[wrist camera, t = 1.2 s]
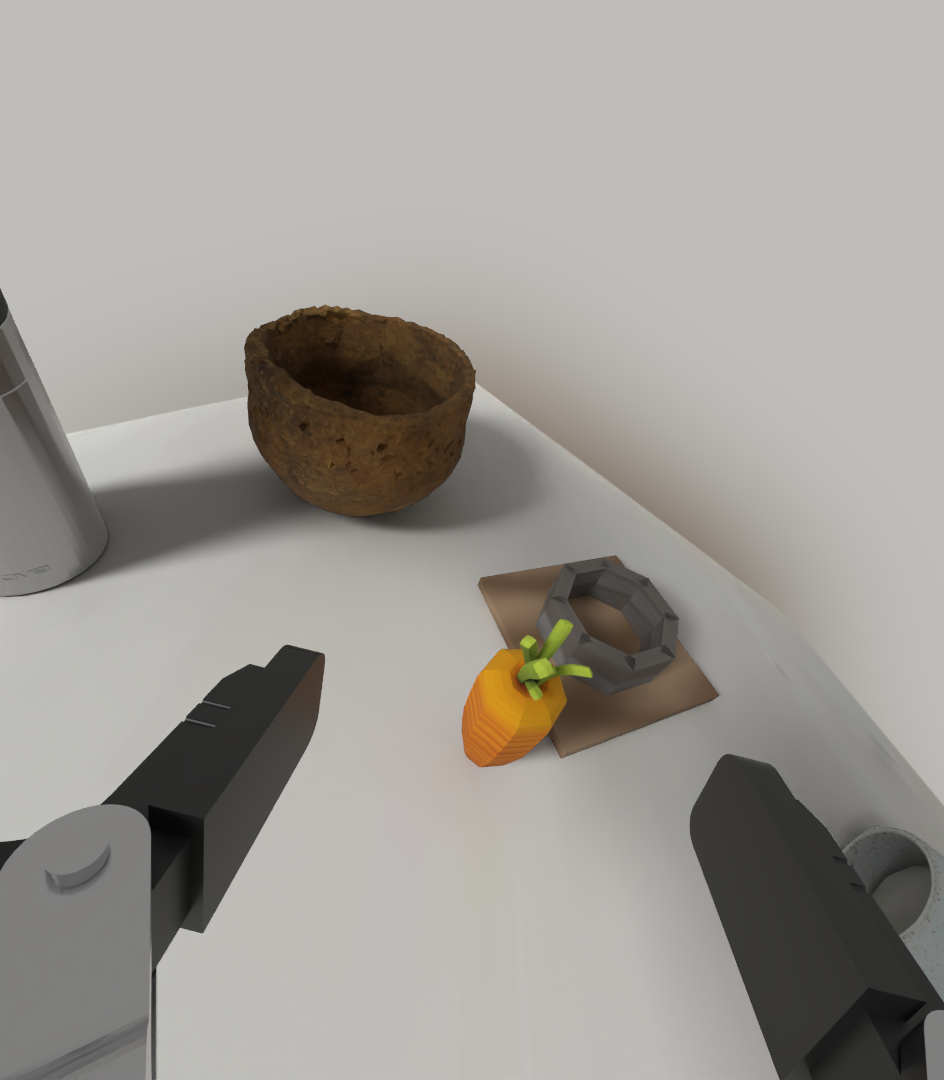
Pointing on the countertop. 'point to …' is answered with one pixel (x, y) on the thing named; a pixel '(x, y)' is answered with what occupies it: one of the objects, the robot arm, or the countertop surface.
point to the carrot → (516, 700)
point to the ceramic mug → (905, 891)
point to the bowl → (357, 407)
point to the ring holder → (601, 646)
